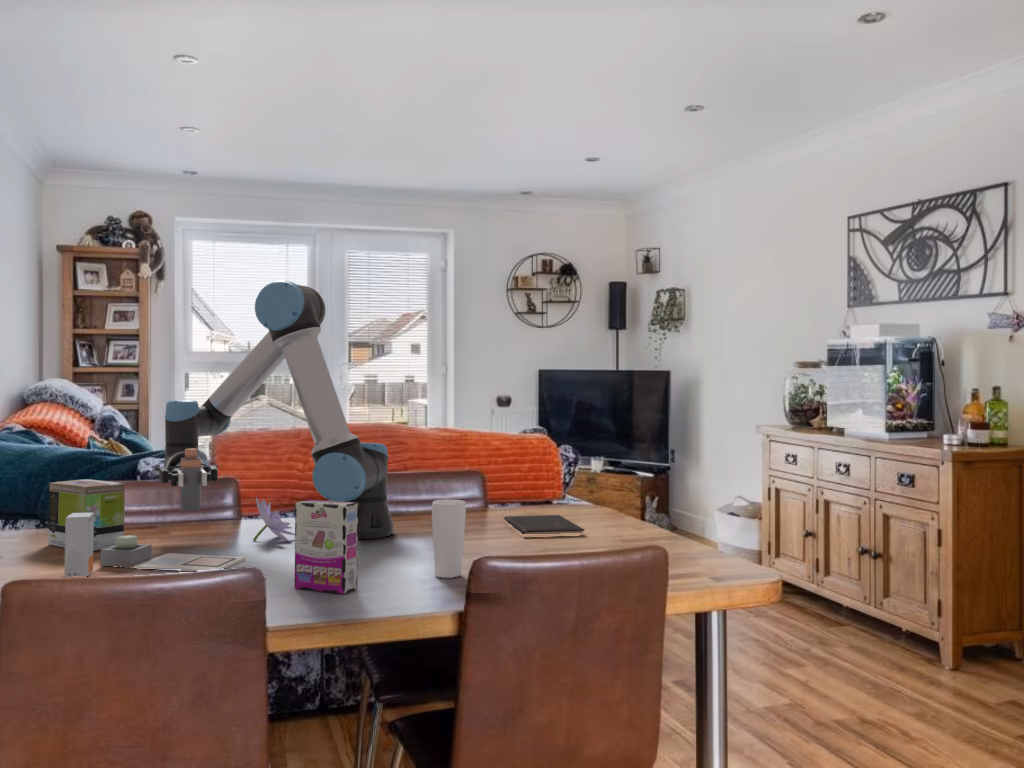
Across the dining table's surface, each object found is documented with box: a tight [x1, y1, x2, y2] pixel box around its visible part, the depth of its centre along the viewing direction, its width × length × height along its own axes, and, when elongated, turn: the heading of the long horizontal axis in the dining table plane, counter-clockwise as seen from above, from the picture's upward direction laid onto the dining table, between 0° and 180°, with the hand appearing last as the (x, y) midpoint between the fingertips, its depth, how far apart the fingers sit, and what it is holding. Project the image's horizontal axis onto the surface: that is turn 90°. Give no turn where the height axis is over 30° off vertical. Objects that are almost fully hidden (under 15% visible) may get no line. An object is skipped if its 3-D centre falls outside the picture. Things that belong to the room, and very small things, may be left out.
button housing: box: [100, 543, 153, 568], centre depth 180 cm, size 7×7×4 cm
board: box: [133, 552, 246, 571], centre depth 181 cm, size 18×13×1 cm
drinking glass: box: [431, 499, 467, 579], centre depth 174 cm, size 7×7×15 cm
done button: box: [116, 534, 138, 549], centre depth 180 cm, size 4×4×2 cm
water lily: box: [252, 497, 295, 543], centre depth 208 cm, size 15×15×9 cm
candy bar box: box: [294, 499, 359, 595], centre depth 162 cm, size 11×5×16 cm, turn 69°
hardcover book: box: [503, 514, 585, 534], centre depth 228 cm, size 16×23×2 cm
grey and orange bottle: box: [180, 449, 202, 512], centre depth 185 cm, size 4×4×13 cm
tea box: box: [48, 478, 125, 552], centre depth 198 cm, size 15×10×15 cm, turn 57°
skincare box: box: [63, 513, 94, 577], centre depth 170 cm, size 6×4×12 cm
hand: (193, 479), depth 180 cm, fingers closed on grey and orange bottle, 4 cm apart
